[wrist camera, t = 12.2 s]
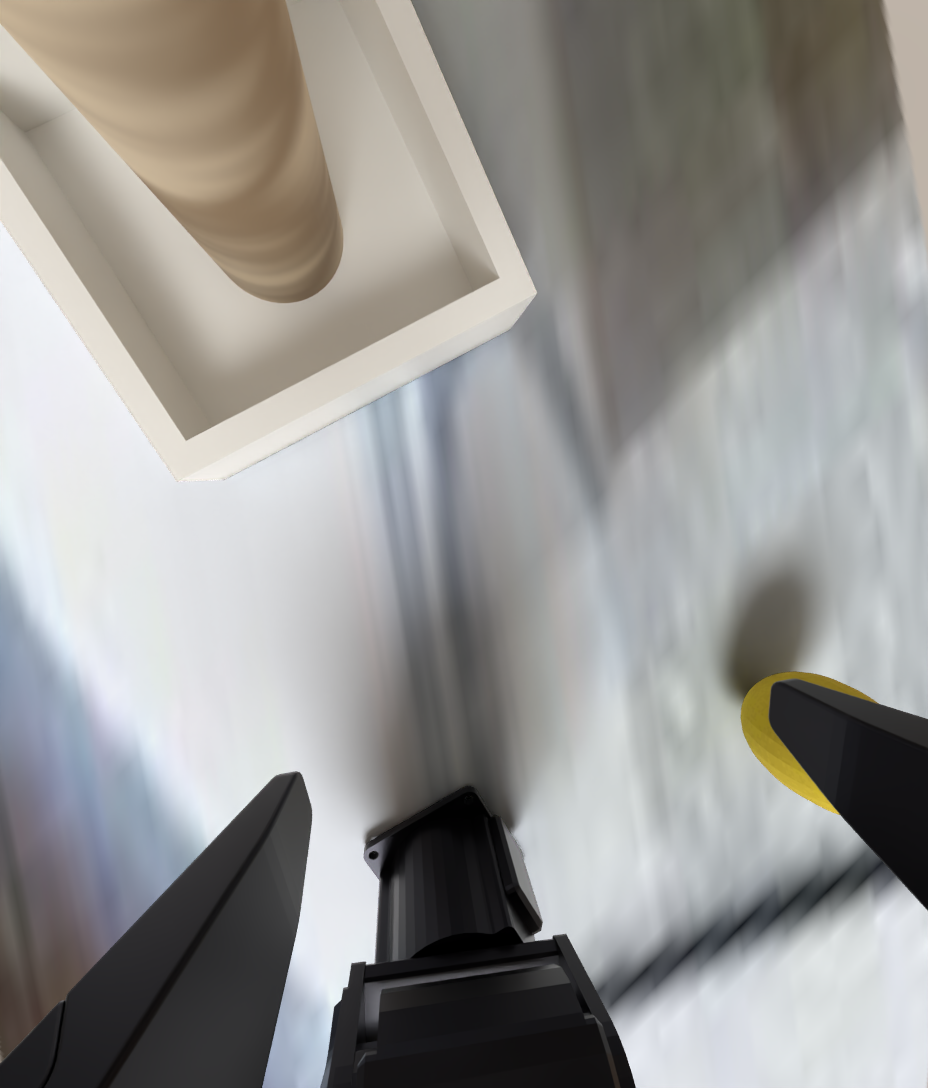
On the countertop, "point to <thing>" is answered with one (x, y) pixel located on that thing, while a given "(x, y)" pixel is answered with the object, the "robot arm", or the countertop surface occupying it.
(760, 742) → the lemon
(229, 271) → the pepper mill
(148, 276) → the bin
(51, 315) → the countertop surface
